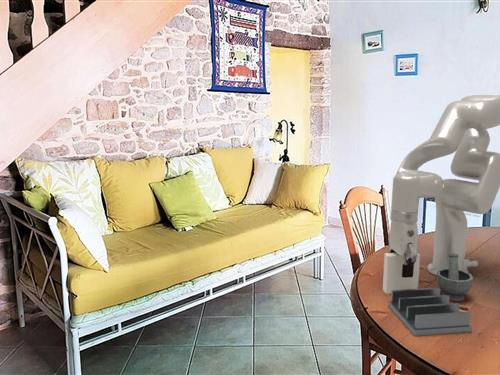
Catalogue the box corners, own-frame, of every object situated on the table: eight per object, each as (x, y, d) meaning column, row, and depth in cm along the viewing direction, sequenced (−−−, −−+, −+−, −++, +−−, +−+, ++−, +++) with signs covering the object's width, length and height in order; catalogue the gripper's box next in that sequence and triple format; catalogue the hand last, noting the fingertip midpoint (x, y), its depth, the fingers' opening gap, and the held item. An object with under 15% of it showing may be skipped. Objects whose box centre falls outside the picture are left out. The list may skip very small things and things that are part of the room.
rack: (388, 306, 126) (389, 289, 125) (438, 302, 127) (439, 286, 126) (414, 335, 110) (415, 317, 109) (471, 331, 112) (473, 313, 111)
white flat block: (382, 290, 136) (384, 253, 134) (413, 288, 137) (416, 251, 135) (385, 293, 134) (387, 256, 131) (417, 291, 135) (420, 254, 132)
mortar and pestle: (473, 306, 125) (476, 266, 123) (437, 302, 128) (440, 262, 126) (466, 289, 136) (470, 252, 133) (433, 286, 139) (436, 249, 136)
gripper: (430, 223, 122) (425, 281, 126) (403, 208, 139) (399, 260, 143) (404, 224, 122) (400, 282, 125) (380, 209, 139) (377, 261, 142)
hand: (400, 270), depth 134 cm, fingers open, 9 cm apart
